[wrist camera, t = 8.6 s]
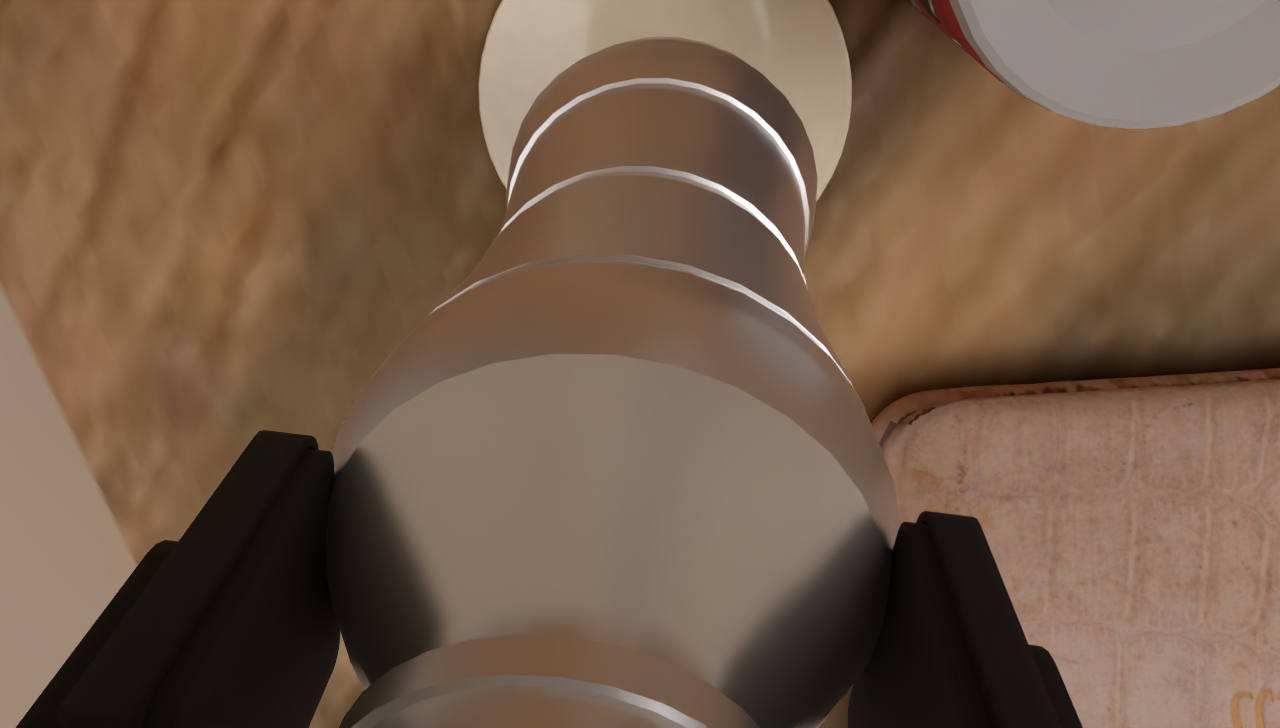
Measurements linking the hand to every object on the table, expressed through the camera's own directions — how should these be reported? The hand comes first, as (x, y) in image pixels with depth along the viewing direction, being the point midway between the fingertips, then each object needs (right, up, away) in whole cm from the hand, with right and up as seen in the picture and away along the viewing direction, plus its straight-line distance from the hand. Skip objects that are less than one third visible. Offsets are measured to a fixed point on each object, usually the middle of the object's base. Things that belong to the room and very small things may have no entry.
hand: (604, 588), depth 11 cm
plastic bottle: (+1, +8, +14) cm, 16 cm away
